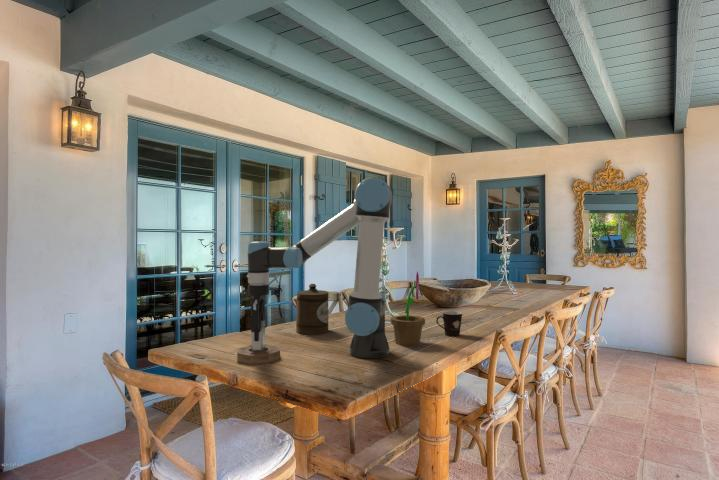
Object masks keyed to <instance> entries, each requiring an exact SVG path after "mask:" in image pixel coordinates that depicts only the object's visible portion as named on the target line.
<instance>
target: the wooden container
mask: <svg viewBox="0 0 719 480" xmlns="http://www.w3.org/2000/svg"><path fill="white" fill-rule="evenodd" d="M308 287H309V289H308V290H307V289H305V290H299V291H297V292H296V313H295V314H296V315H295V317H296V318H295V319H296V321H295V322H296V323H295V325H296V327H295V331H296V332H297V333H298V334H303V335H322V334H325V333H328V332H329V291H327V290H318V289H317V285H316V283H310V284H309V285H308Z"/></svg>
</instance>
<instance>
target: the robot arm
mask: <svg viewBox="0 0 719 480" xmlns="http://www.w3.org/2000/svg"><path fill="white" fill-rule="evenodd" d="M393 201H394V193H393V190H392V189H391V187H390V186H389V184H388V183H387V182H386V181H385V180H384V179H381V178H378V177H368V178H364V179H363V180H361V182H359V183H358V184H357V186H356V188H355V191H354V200H353V203H352V204H351V205H349V206H348V207H346V208H345V209H343V210H342V211H341V212H339V213H338V214H337V215H335V216H334V217H332V218H330V219H329V220H328V221H326V222H325V223H323V224H322V225H320V226H319V227H318V228H316V229H314V230H313V231H312V232H311V233H310V234H308V235H306V236H305V237H303V238H302V239H301V240H299V241H298V242H296V243H295V244H294V245H292V246H287V247H286V246H283V247H281V246H280V247H278V246H277V247H273V246H270V243H269V242H268V241H251V242H249V243H248V247H247V248H248V249H247V275H246V278H247V283H248V285H247V295H248V296H250V297H251V296H252V298H253V300H251V304H250V309H251V330H250V333H252V332H253V350H261V331H260V325H261V320H265V321H266V298H265V297H264V296H268V295H269V294H270V284H269V283H270V269H289V270H291V269H299V268H300V267H301V266H302V265H303V264H305V263H306V262H307V261H308V260H309V259H310V258H311V257H313V256H314V255H316V254H317V253H319V252H320V251H321V250H323V249H324V248H326V247H327V246H330V244H332V243H333V242H335V241H336V240H338V239H339V238H341V237H342V236H343V235H345V234H346V233H348V232H350V231H351V230H352V229H354V228H355V227H357V226H358V235H357V236H358V237H357V248H356V257H355V258H356V260H355V270H354V283H353V284H354V285H353V286H354V287H353V290H352V291H351V292H350V293H349V294H348V304H347V305H348V306H347V309H346V311H345V314H344V323H345V326H346V327H347V329H348V330H349V331H350V332H351V333H352V334H353V336H352V339H351V342H350V345H349V355H351V356H353V357H355V358H363V359H379V358H384V357H387V356H389V355H390V346H389V342H388V339H387V336H386V296H385V294H384V293H380V291H379V288H380V277H381V267H382V251H383V240H384V230H385V229H384V227H385V223H386V222H387V221H388V220H389V219H390V211H391V210H390V208H391V206H392V204H393ZM266 328H267V325H265V329H266Z"/></svg>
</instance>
